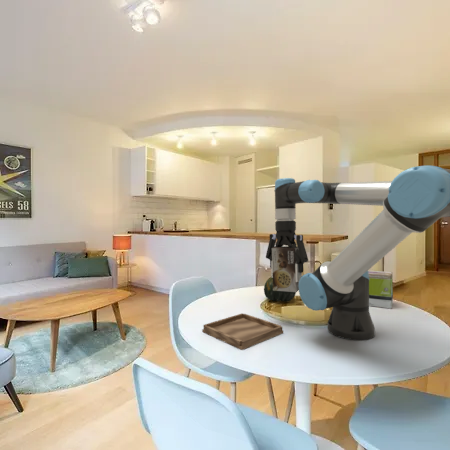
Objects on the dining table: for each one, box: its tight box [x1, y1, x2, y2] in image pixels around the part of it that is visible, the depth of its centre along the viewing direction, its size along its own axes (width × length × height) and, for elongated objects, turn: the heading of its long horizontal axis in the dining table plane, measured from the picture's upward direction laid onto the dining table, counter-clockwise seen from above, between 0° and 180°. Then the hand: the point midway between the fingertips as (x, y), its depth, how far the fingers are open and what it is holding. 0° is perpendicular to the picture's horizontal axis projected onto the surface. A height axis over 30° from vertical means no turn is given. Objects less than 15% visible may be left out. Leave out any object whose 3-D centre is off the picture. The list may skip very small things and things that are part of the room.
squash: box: [263, 275, 297, 303], centre depth 145 cm, size 14×15×15 cm
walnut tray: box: [201, 313, 284, 351], centre depth 105 cm, size 20×20×2 cm
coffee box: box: [272, 245, 299, 293], centre depth 112 cm, size 9×6×16 cm
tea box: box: [368, 270, 394, 309], centre depth 137 cm, size 15×10×15 cm
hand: (286, 279), depth 112 cm, fingers closed on coffee box, 10 cm apart
